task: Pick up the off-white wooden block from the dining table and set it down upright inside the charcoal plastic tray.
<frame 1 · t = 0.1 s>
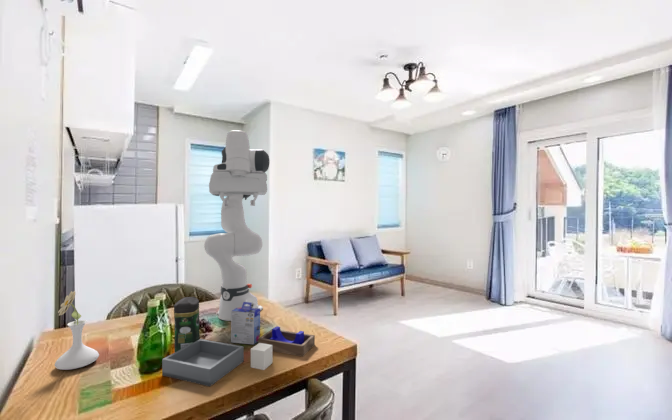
hand: (239, 205, 117), 52 cm above the table, tool tilted 20°, fingers open, 8 cm apart
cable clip: (286, 347, 120), resting in organizer
organizer: (286, 346, 120), on the table
ink cartridge box: (246, 341, 125), on the table
flower in vase: (76, 366, 106), on the table
tray: (204, 368, 104), on the table
block: (261, 365, 107), on the table
coffee jar: (187, 350, 117), on the table
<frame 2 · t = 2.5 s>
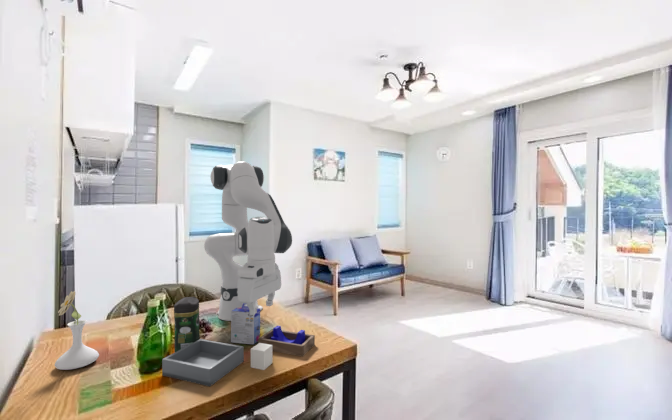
hand: (261, 309, 106), 18 cm above the table, tool pointing down, fingers open, 8 cm apart
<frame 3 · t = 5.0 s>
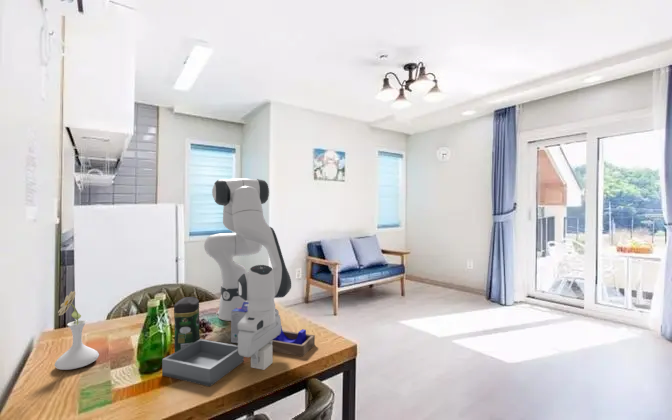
hand: (261, 358, 106), 2 cm above the table, tool pointing down, fingers closed on block, 5 cm apart
block: (261, 364, 107), on the table, touching gripper
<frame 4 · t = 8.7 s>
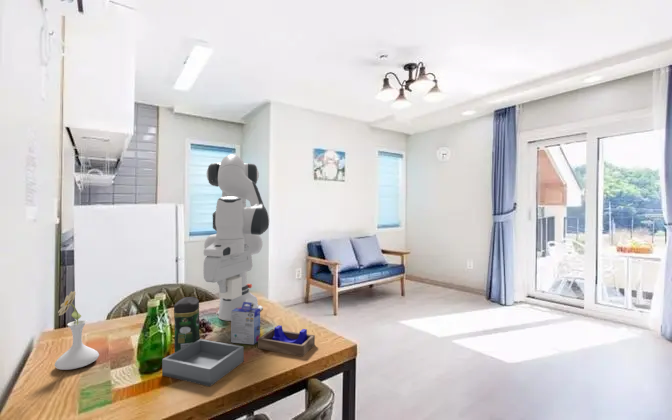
hand: (230, 289, 105), 25 cm above the table, tool pointing down, fingers closed on block, 5 cm apart
block: (230, 296, 105), point 23 cm above the table, touching gripper
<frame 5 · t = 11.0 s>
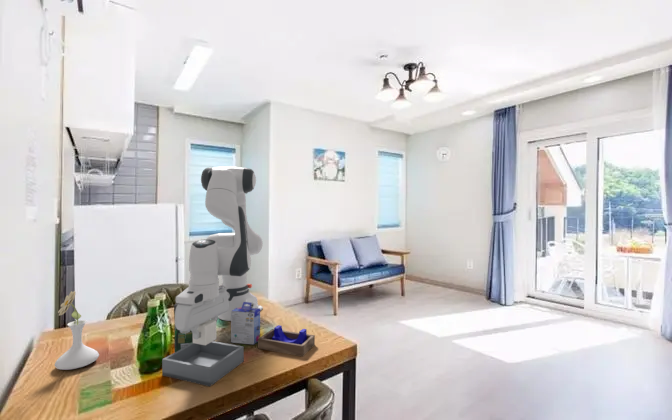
hand: (204, 334, 104), 11 cm above the table, tool pointing down, fingers closed on block, 5 cm apart
block: (204, 341, 104), point 9 cm above the table, touching gripper
when the fingers open (5 cm above the table, at t = 12.7 s): block drops 1 cm, resting on tray.
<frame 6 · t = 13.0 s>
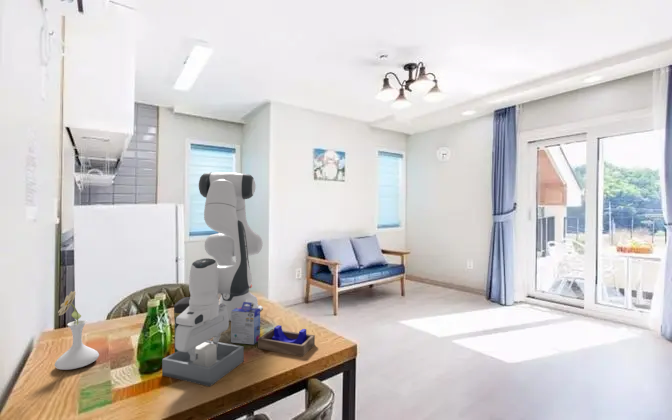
hand: (204, 353, 104), 5 cm above the table, tool pointing down, fingers open, 8 cm apart
block: (204, 364, 104), point 1 cm above the table, touching tray
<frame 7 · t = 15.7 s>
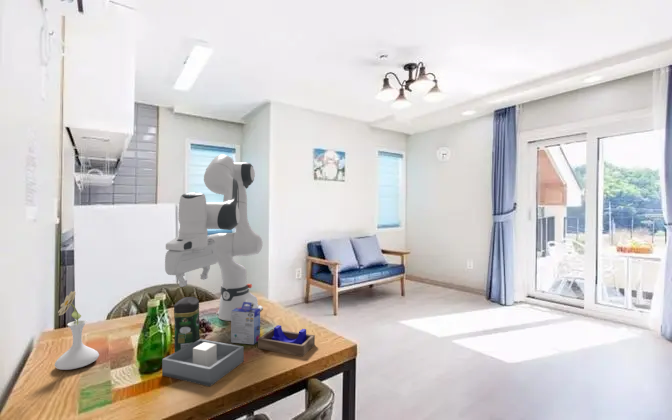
hand: (194, 282, 109), 26 cm above the table, tool pointing down, fingers open, 8 cm apart
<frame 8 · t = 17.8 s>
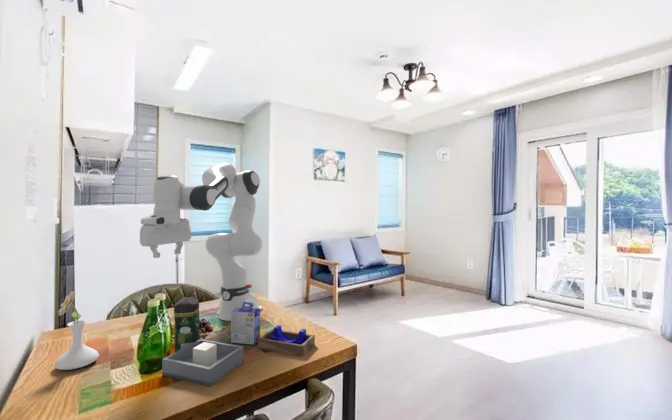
hand: (167, 255, 122), 33 cm above the table, tool pointing down, fingers open, 8 cm apart
at the end: block inside the target area on the tray (0.1 cm from its centre), point 1.0 cm above the tray's base; block tilted 0°; the gripper is holding nothing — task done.
